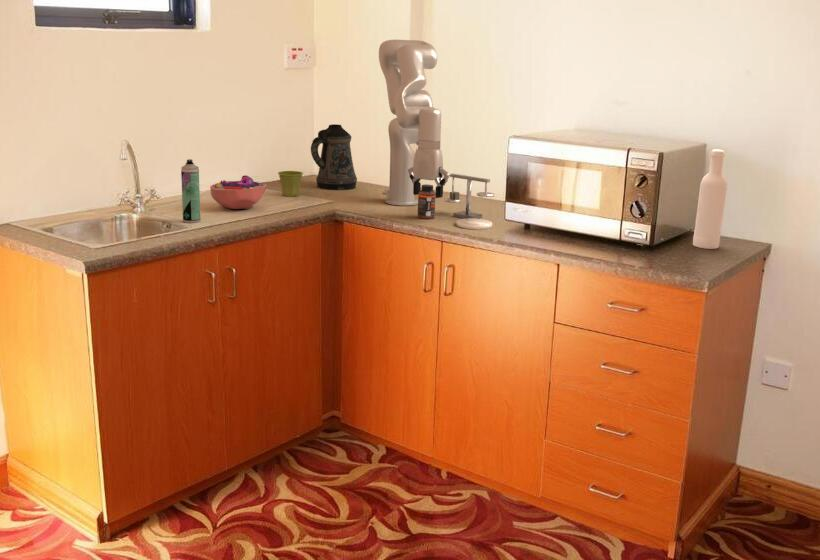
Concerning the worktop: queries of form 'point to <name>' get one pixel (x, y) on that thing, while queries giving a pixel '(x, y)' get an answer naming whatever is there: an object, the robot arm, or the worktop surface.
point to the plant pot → (290, 182)
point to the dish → (474, 223)
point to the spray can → (190, 192)
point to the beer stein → (334, 159)
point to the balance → (467, 196)
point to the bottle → (711, 205)
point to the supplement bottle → (426, 202)
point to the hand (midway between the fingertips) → (427, 195)
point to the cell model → (238, 193)
